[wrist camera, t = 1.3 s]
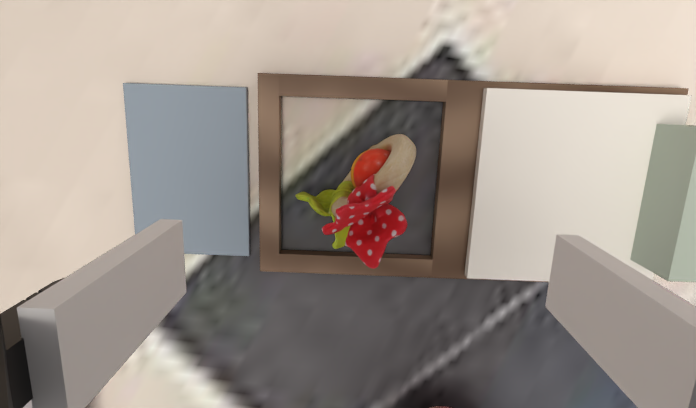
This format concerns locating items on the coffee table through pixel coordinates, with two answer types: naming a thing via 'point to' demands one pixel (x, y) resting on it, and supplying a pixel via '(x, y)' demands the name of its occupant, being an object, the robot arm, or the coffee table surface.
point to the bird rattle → (368, 200)
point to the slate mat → (191, 163)
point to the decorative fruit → (440, 407)
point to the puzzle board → (451, 176)
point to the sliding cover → (583, 182)
